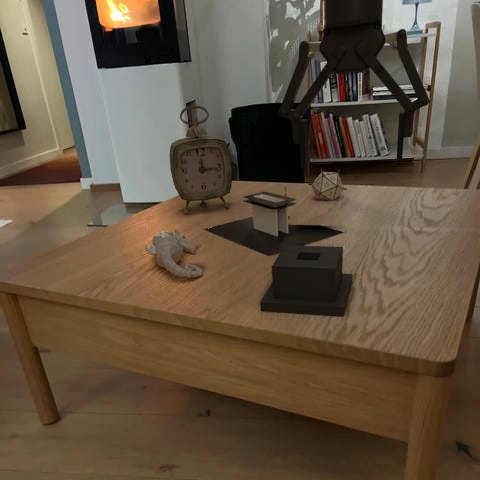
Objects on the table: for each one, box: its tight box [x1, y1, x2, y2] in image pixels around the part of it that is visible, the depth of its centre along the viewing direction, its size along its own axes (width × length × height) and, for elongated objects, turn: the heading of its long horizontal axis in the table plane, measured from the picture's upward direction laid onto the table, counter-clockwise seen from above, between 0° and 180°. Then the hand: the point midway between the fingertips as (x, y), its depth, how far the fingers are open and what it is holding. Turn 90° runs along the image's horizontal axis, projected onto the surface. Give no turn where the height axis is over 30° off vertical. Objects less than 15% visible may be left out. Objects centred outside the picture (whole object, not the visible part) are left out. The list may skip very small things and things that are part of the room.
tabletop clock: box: [169, 104, 233, 216], centre depth 119 cm, size 14×9×25 cm, turn 104°
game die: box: [307, 169, 348, 201], centre depth 119 cm, size 9×8×10 cm
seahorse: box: [144, 228, 204, 279], centre depth 89 cm, size 5×12×20 cm
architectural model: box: [205, 186, 344, 257], centre depth 101 cm, size 20×25×10 cm
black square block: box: [271, 245, 344, 301], centre depth 71 cm, size 9×9×5 cm
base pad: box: [259, 272, 353, 317], centre depth 72 cm, size 12×12×6 cm
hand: (350, 164), depth 70 cm, fingers open, 13 cm apart
